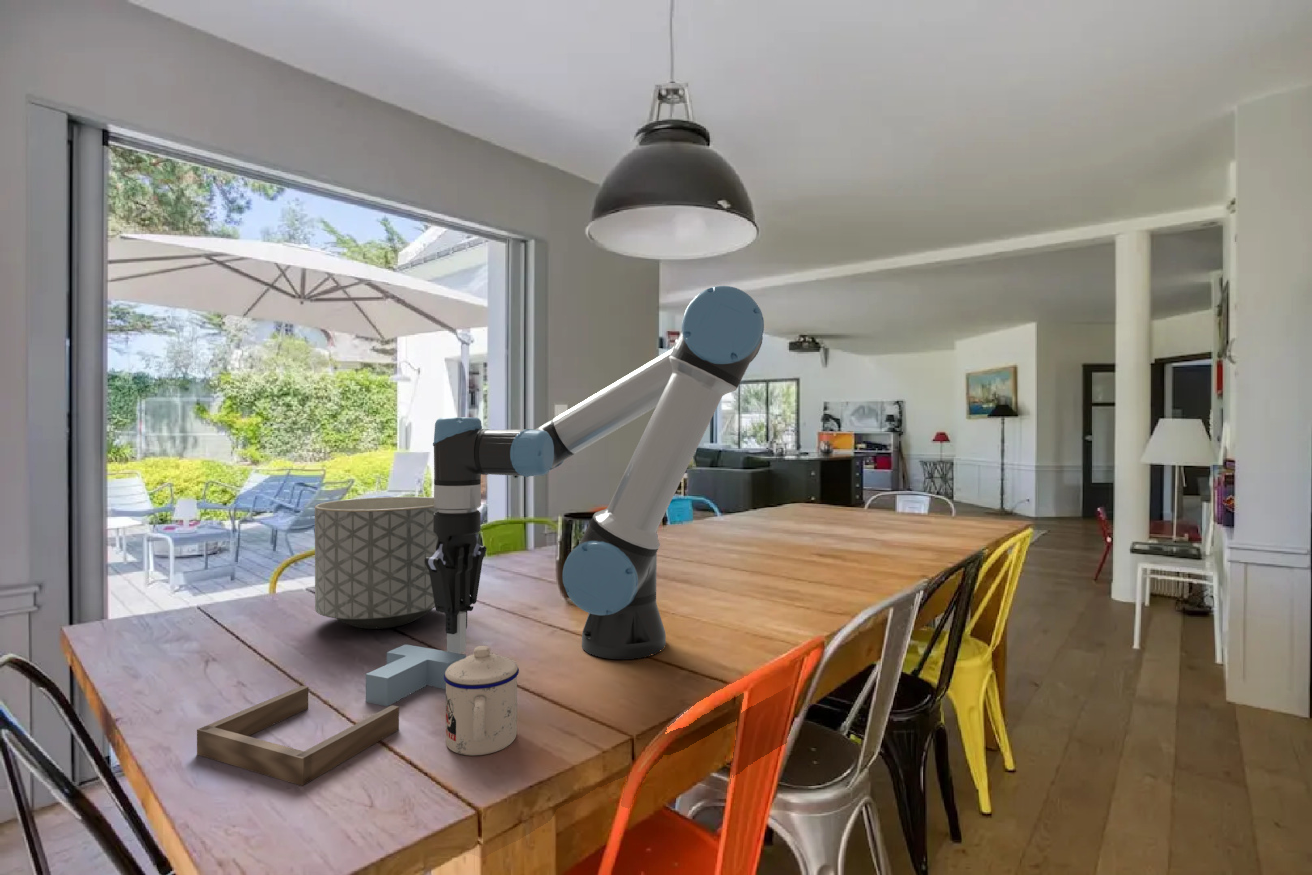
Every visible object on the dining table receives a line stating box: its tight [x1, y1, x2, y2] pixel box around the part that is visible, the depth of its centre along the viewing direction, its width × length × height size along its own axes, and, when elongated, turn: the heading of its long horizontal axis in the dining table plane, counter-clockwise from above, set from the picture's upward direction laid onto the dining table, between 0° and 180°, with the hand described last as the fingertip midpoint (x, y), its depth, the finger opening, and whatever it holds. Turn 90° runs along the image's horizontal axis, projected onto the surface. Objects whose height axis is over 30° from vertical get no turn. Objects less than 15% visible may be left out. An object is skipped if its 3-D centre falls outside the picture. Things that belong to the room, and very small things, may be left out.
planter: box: [314, 496, 438, 630], centre depth 129 cm, size 25×25×24 cm
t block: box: [365, 643, 467, 707], centre depth 97 cm, size 12×12×4 cm
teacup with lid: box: [444, 645, 520, 756], centre depth 80 cm, size 12×9×12 cm
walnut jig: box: [196, 685, 400, 787], centre depth 80 cm, size 17×14×3 cm
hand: (456, 650), depth 107 cm, fingers closed
